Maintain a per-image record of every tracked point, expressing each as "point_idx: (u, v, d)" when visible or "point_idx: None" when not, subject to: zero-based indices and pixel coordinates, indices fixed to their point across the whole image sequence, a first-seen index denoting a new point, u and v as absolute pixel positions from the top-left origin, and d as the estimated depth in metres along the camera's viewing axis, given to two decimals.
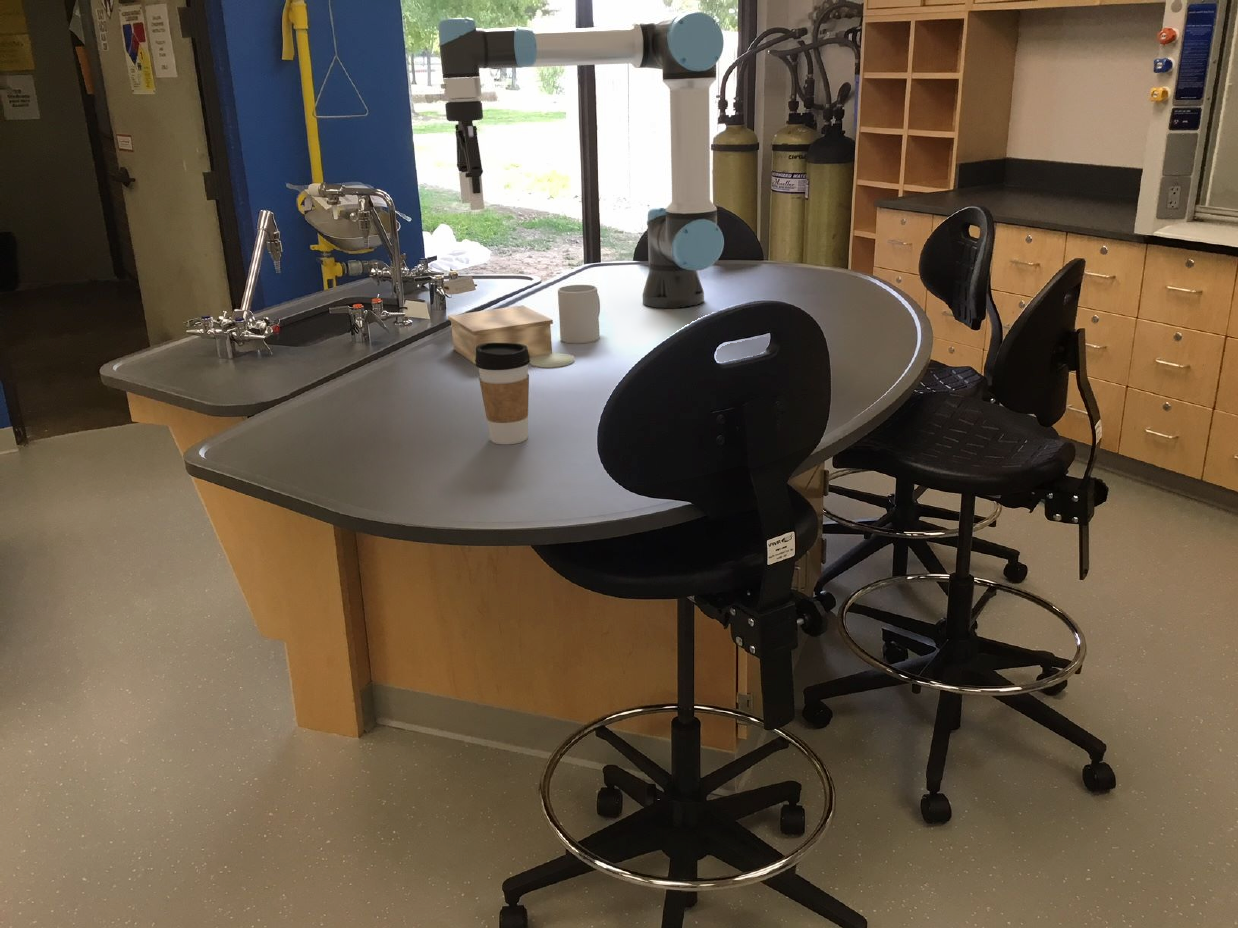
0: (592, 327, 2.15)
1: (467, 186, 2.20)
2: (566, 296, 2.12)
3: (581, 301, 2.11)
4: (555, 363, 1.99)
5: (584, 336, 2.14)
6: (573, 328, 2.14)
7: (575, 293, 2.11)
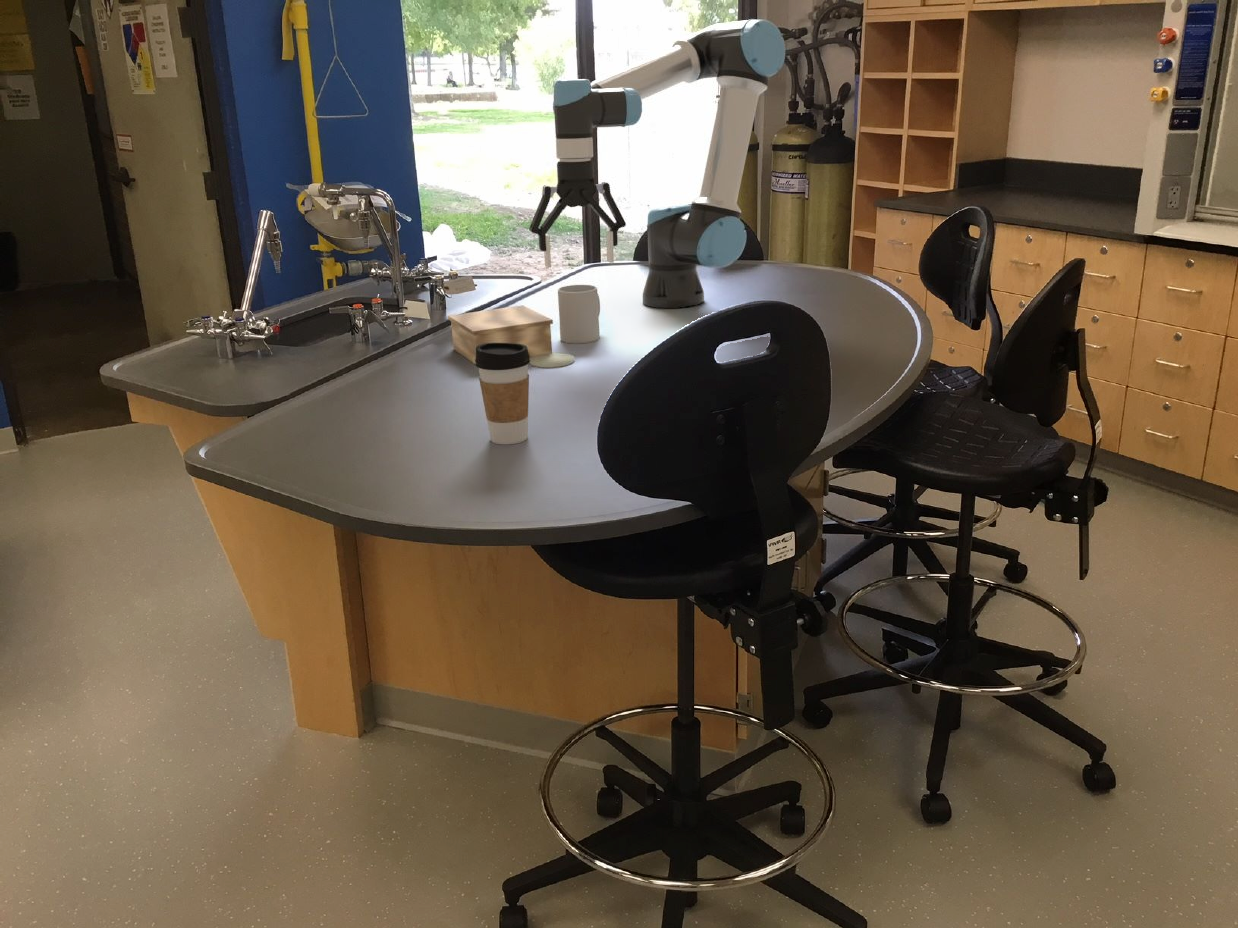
0: (592, 327, 2.15)
1: (608, 245, 2.14)
2: (566, 296, 2.12)
3: (581, 301, 2.11)
4: (555, 363, 1.99)
5: (584, 336, 2.14)
6: (573, 328, 2.14)
7: (575, 293, 2.11)
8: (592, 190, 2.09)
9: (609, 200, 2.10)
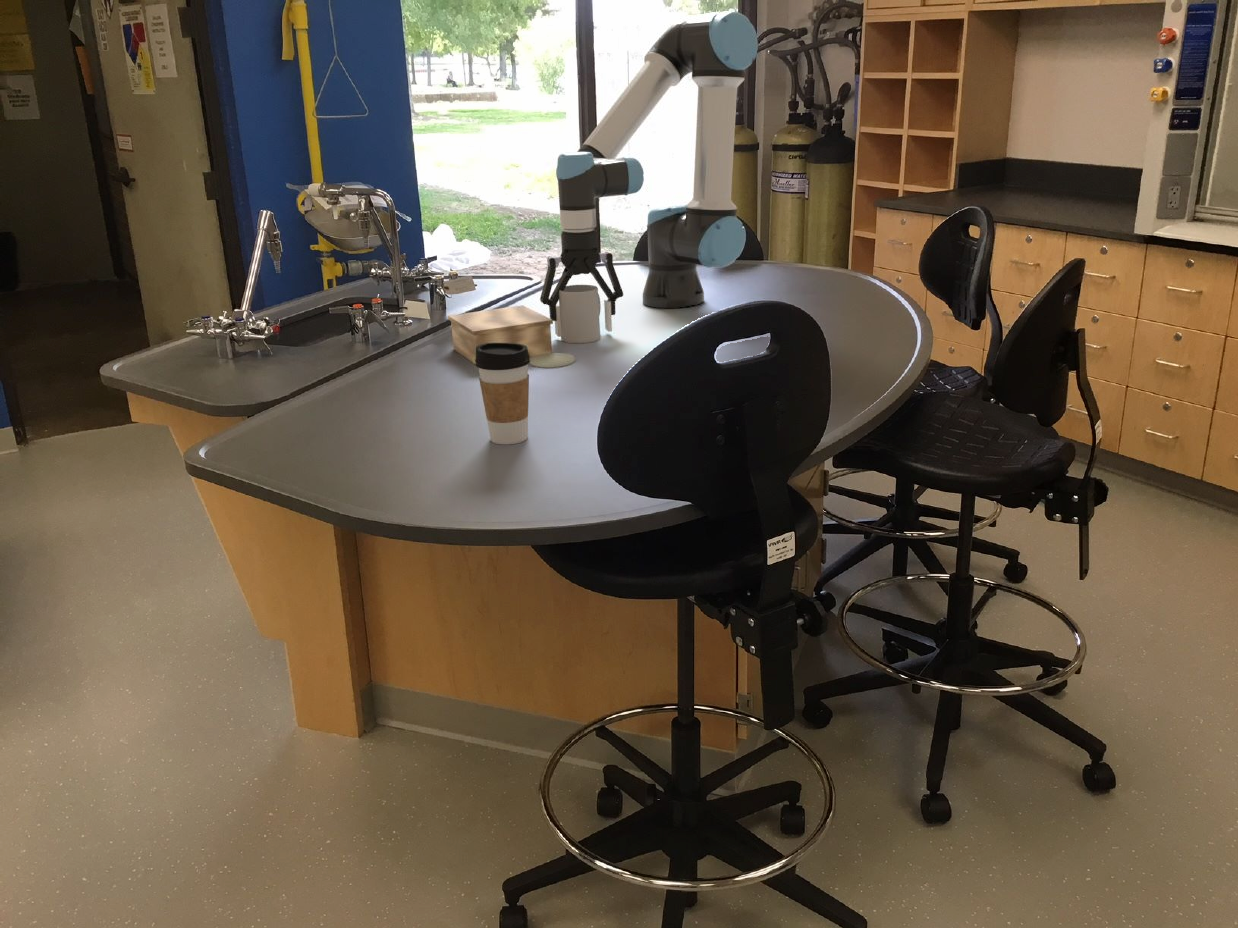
0: (593, 327, 2.15)
1: (606, 314, 2.19)
2: (567, 296, 2.12)
3: (581, 301, 2.12)
4: (555, 363, 1.99)
5: (585, 336, 2.14)
6: (574, 328, 2.14)
7: (576, 293, 2.11)
8: (595, 258, 2.14)
9: (610, 270, 2.15)
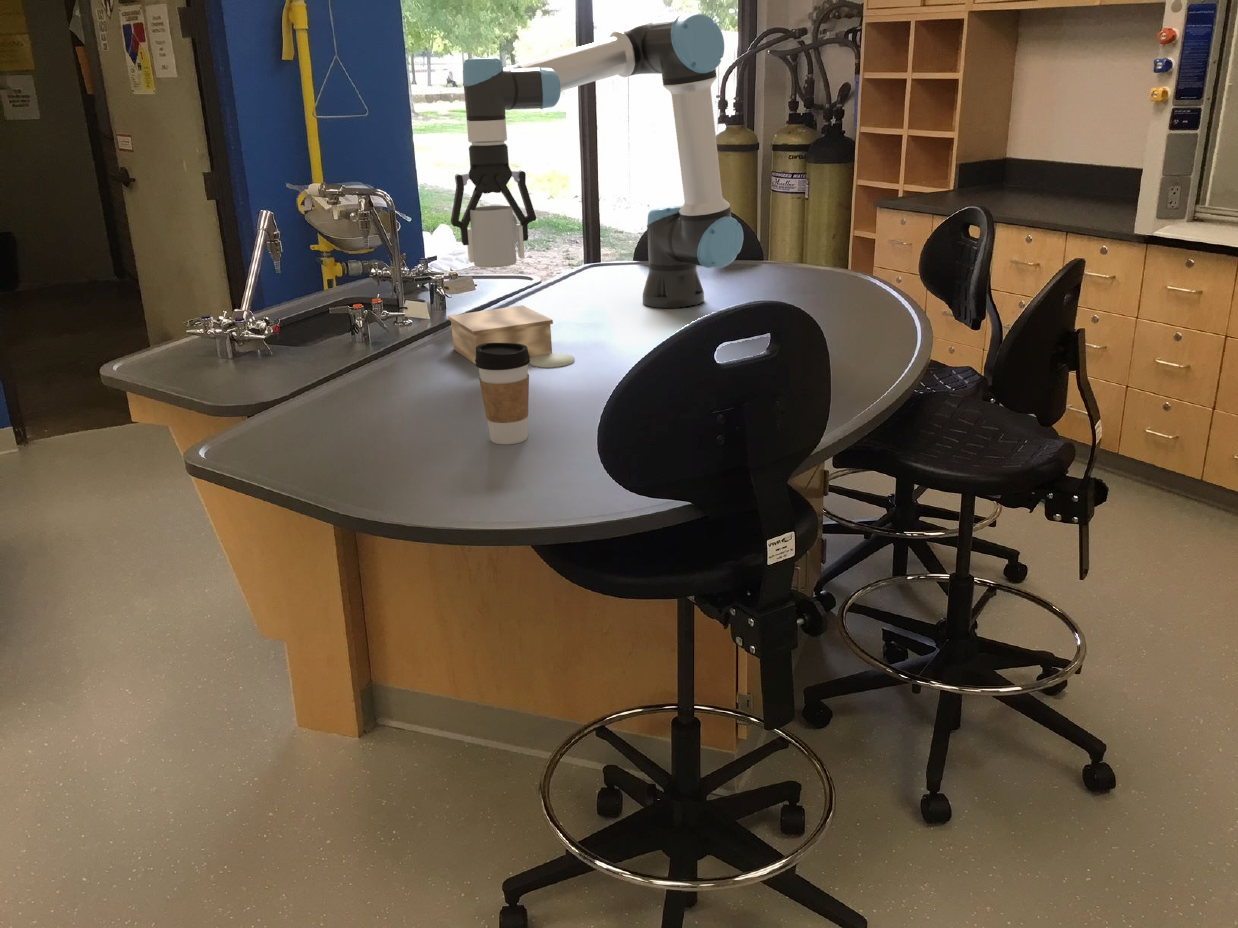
0: (507, 250, 1.99)
1: (518, 240, 2.04)
2: (477, 215, 1.96)
3: (493, 220, 1.96)
4: (555, 363, 1.99)
5: (498, 259, 1.99)
6: (486, 250, 1.98)
7: (487, 211, 1.95)
8: (506, 175, 1.98)
9: (523, 190, 2.00)
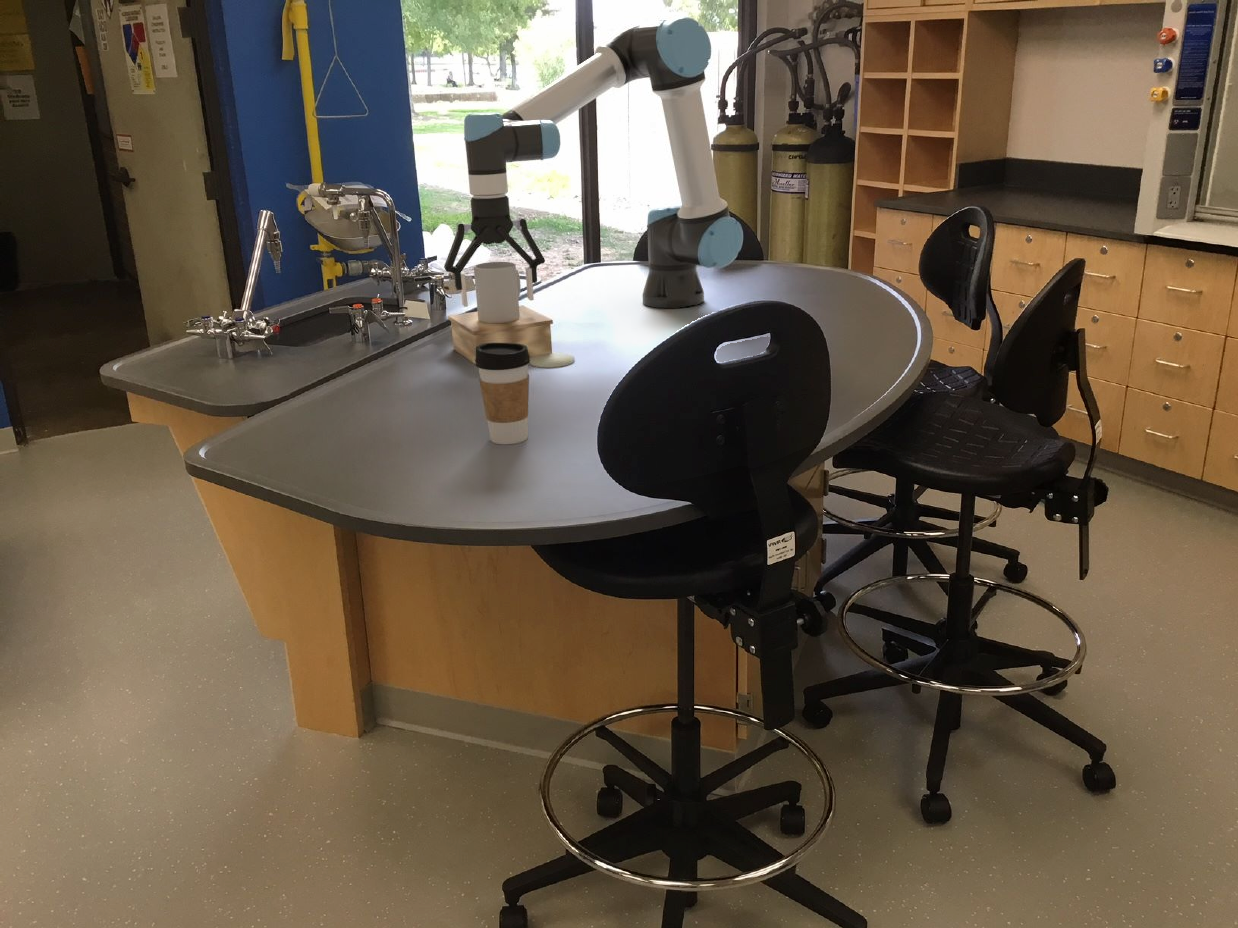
0: (511, 306, 2.03)
1: (527, 282, 2.07)
2: (482, 273, 2.00)
3: (497, 278, 2.00)
4: (555, 363, 1.99)
5: (502, 315, 2.03)
6: (490, 307, 2.02)
7: (491, 270, 1.99)
8: (508, 226, 2.01)
9: (526, 236, 2.03)
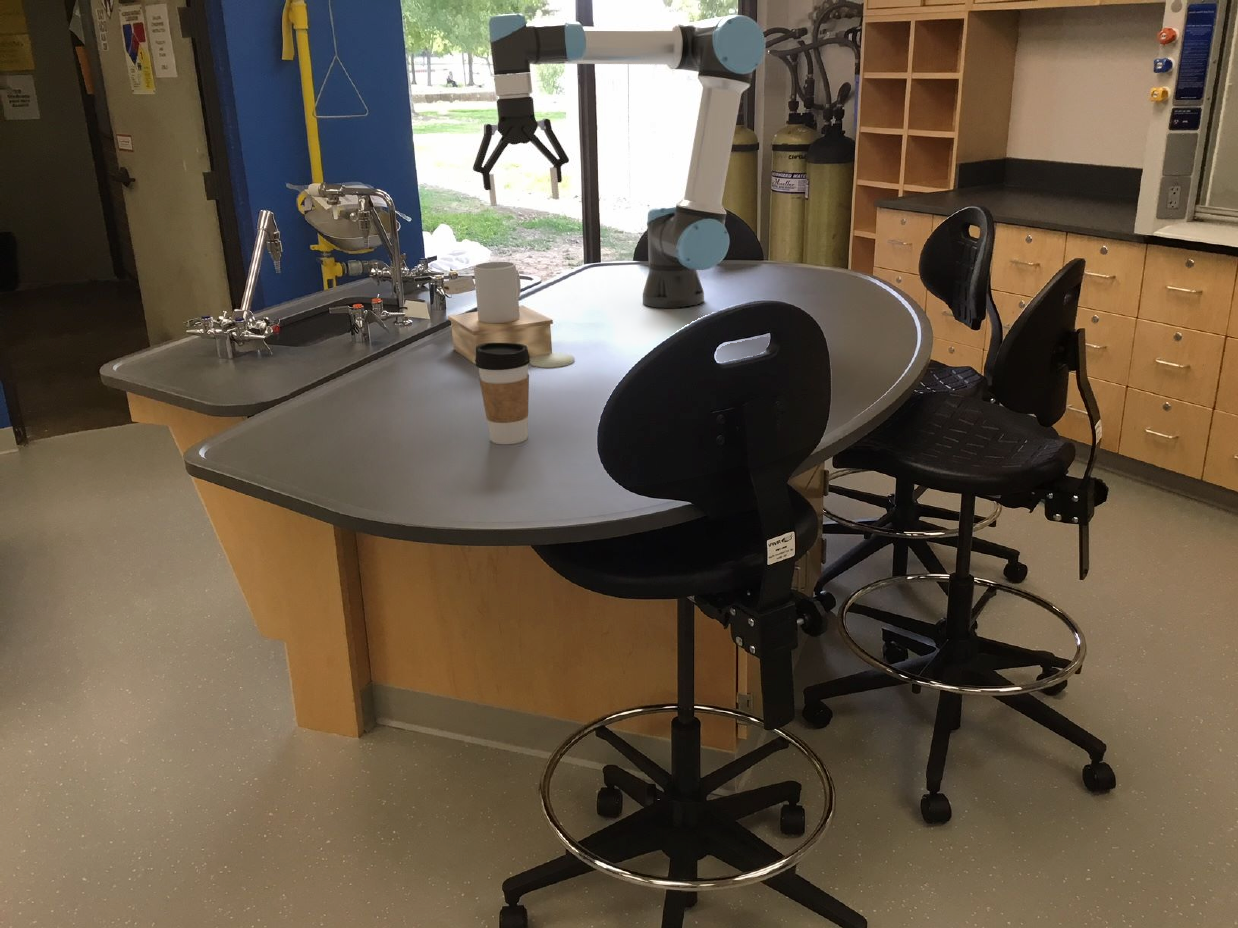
0: (511, 306, 2.03)
1: (552, 182, 2.16)
2: (482, 273, 2.00)
3: (497, 278, 2.00)
4: (555, 363, 1.99)
5: (502, 315, 2.03)
6: (490, 307, 2.02)
7: (491, 270, 1.99)
8: (533, 127, 2.10)
9: (551, 136, 2.11)
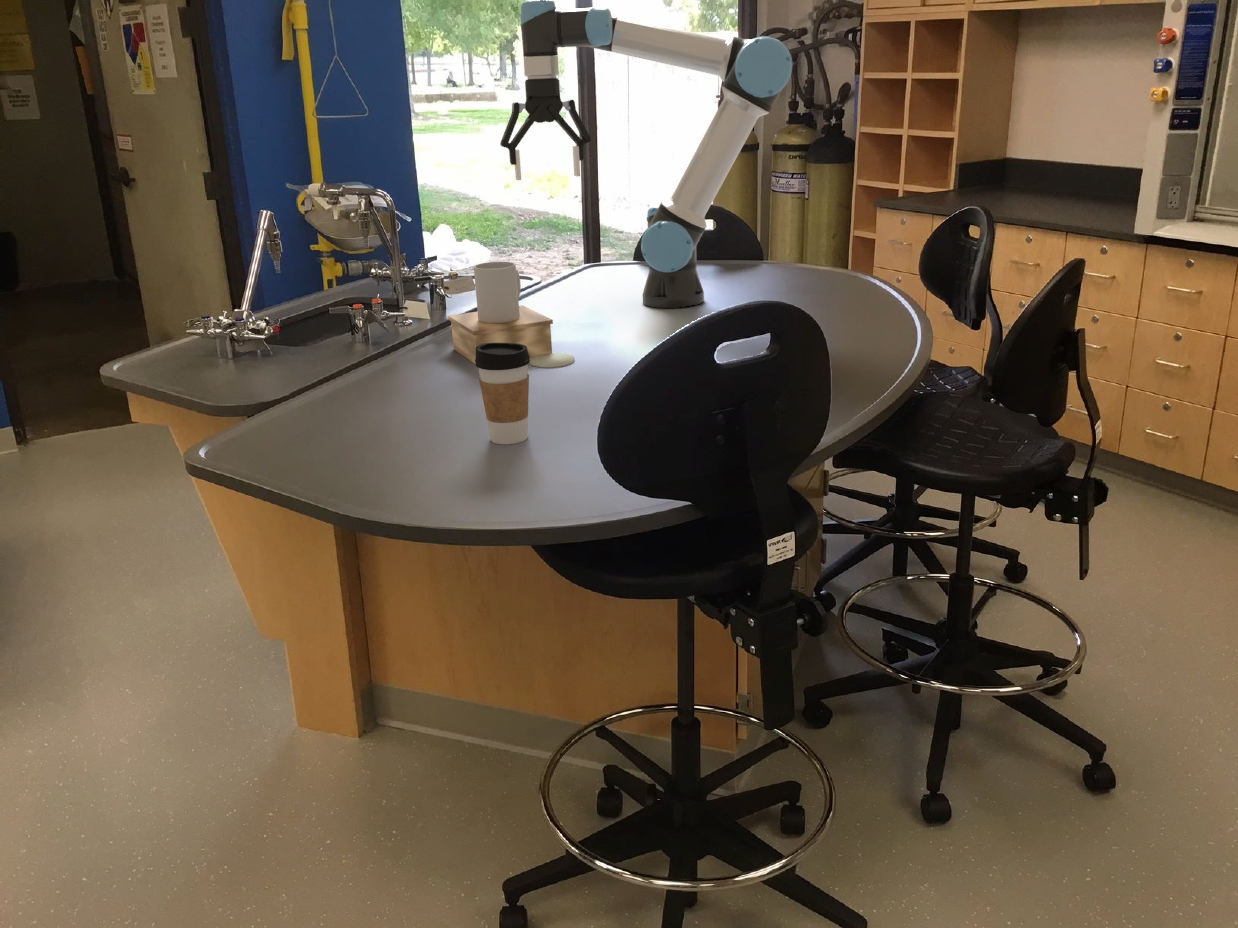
0: (511, 306, 2.03)
1: (575, 160, 2.29)
2: (482, 273, 2.00)
3: (497, 278, 2.00)
4: (555, 363, 1.99)
5: (502, 315, 2.03)
6: (490, 307, 2.02)
7: (491, 270, 1.99)
8: (558, 106, 2.23)
9: (575, 116, 2.25)
